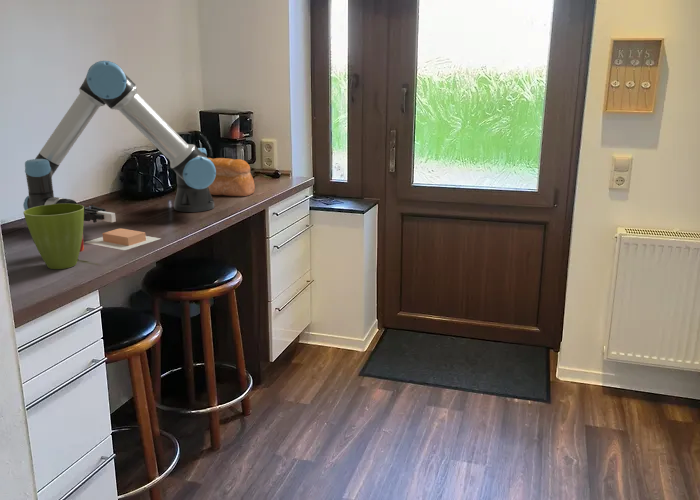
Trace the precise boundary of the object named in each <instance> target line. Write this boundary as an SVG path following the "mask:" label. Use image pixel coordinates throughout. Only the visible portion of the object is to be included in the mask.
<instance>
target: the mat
mask: <svg viewBox="0 0 700 500" xmlns="http://www.w3.org/2000/svg"><path fill="white" fill-rule="evenodd" d="M158 240H162V238H161V237H160V238H159V237H155V236H154V237H153V236H149V235H148V236H147V235H146V241H143V242H140V243H136V244H133V245H130V246H127V245H121V244H116V243H110V242H105V241H103V236H101V237H98V238H94V239H90V240H89V239H88V240H86V241H83V243H84V244H88V245H94V246H100V247H105V248H108V249H109V248H111V249H115V250H120V251H127V250H130V249H133V248H137V247H140V246H144V245H147V244H149V243H152V242H156V241H158Z"/></svg>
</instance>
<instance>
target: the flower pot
mask: <svg viewBox="0 0 700 500" xmlns="http://www.w3.org/2000/svg"><path fill="white" fill-rule="evenodd" d="M23 215H24V220H25V222H26V225H27V228H28V231H29V233H30V236H31V238H32V240H33V243H34V244H35V247H36V249H37V250H38V253H39V254H40V256H41V259H42V260H43V262H44V263H45V265H46V266H47V268H48V269H50V270H63V269H69V268H72V267H74V266H76V265H77V263H78V260H79V255H80V253H81V252H80V248H81V242H82V235H83V236H84V223H85V221H84V205H82V204H80V203H79V204H78V203H77V204H50V205H43V206H37V207H33V208H29V209H27V210H24V211H23Z"/></svg>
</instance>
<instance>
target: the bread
mask: <svg viewBox="0 0 700 500" xmlns="http://www.w3.org/2000/svg"><path fill="white" fill-rule="evenodd" d="M207 158H208V159H210V160H211V161H212V162H213V164H214V166H215V169H216V177H215V179H214V181H213V183H212V184H211V185H210V186H209V190H210V193H211V195H212V196H226V197H247V196H251V195H252V194H254V193H255V190H256V185H255V181H254V177H253V175H252V173H251V166H250V164H249V163H248V162H247V161H246V160H244V159H241V158H237V159H235V158H228V157H227V158H225V157H216V158H214V157H213V158H211V157H207Z"/></svg>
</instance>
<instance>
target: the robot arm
mask: <svg viewBox="0 0 700 500" xmlns="http://www.w3.org/2000/svg"><path fill="white" fill-rule="evenodd" d="M137 86H138V85H137V84H136V83H135V82H134V81H133V80H132V79H131V78H130V77H129V76H128V75H127V74H126V73H125V72H124V70H123V69H122V68H121V66H119V65H118V64H116V63H115V62H113V61H109V60H100V61H96V62H95V63H93V64H92V65H91V66H90V67H89V68H88V70H87V73H86V76H85V78H84V80H83V81H82V84H80V86H79V88H78V91H79V94H78V96H76V99H75V100H74V101H73V103H72V104H71V106H70V107H69V109H67V112H65V114H64V116H63V117H62V119H61V120H60V122H59V123H58V124H57V126H56V127H55V129H54V130H53V132H52V134H51V135H50V137H49V138H48V140H46V142H45V144H44V145H43V146H42V148H41V149H40V151H39V152H38V154H37V155H36V157H35V158H32V159H28V160H26V161H25V162H24V169H25V170H24V173H25V178H26V183H27V184H26V185H27V189H28V191H27V192H28V195H27V196H26V197H25V199H24V201H23V205H22V206H23V209H24V211H25V210H27V209H29V208H33V207H37V206H43V205H50V204H78V203H77V201H75V200H74V199H69V198H64V197H58V196H56V197H55V194H54V189H53V188H54V187H53V179H52V178H53V176H54V174H55V172H56V171H57V170H58V168H59V166H60V165H61V163H62V162H63V161H64V160H65V158H66V156H67V155H68V153H69V152H70V150H71V149H72V147H73V146H74V145H75V143H76V142H77V141H78V139H79V138H80V136H81V135H82V133H83V132H84V130H85V128H86V127H87V126H88V124H89V123H90V122H91V121H92V119H93V118H94V116H95V115H96V113H97V112H98V110H99V109H100V107H104V106H107V107H108V108H109V109H110V110H115V111H116V110H117V111H119V112H120V113H121V114H122V115H123V116H124V117H125V118H126V119H127V120H128V121H129V122H130V123H131V124H132V125H133V127H135V128H136V129H137V130H138V131H139V132H140V133H141V134H142V135H143V136H144V137H145V138H146V139H147V140H148V141H149V142H151V144H152V145H154V147H155V148H156V149H158V150H159V152H161V153H162V155H164V157H166V159H168V161H169V165H170V166H169V167H170V169H171V170H172V171H174V173H175V174H176V184H177V186H176V187H177V188H176V194H175V198H174V201H173V209H174V210H175V211H177V212H182V213H183V212H184V213H197V212H205V211H210V210H214V208H215V200H214V198H213V195H211V193H210V190H209V186H210V185H211V184H212V183H213V181H214V179H215V177H216V169H215V166H214V164H213V162H212V161H211V160H210V159H208V158H209V157H207V156H208V153H207V150H206V148H205V147H197V145H195V144H192V143H191V144H190V143H187V142H186V141H185V140H184V139H183V137H181V136H180V134H179V133H178V132H176V131H175V130H174V128H172V126H170V124H169V123H168V122H166V120H165V119H164V118H162V116H161V115H160V114H159V113H158V112H157V111H156V110H155V109H154V107H152V106H151V105H150V103H148V102H147V101H146V100H145V99H144V98H143V97H142V96H141V95H140V94H139V93H138V92H137V88H138V87H137ZM83 206H84V205H83ZM90 221H92V222H93V223H97V222H98V221H100V222H108V223H116V222H117V220H116V213H115V212H110V211H106V209H105V208H102V207H99V206H95V205H94V204H90V205H89V206H84V222H90Z"/></svg>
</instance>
